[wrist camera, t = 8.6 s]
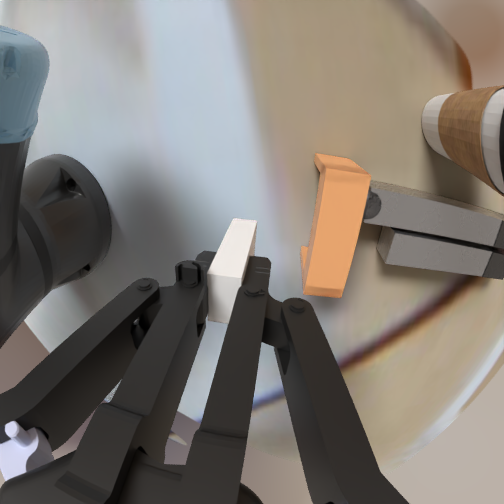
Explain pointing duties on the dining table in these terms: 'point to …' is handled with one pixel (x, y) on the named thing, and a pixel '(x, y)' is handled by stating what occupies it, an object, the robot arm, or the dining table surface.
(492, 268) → the tong arm
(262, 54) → the dining table surface
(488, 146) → the coffee cup
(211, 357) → the dining table surface
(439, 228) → the tongs fixed
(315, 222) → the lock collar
